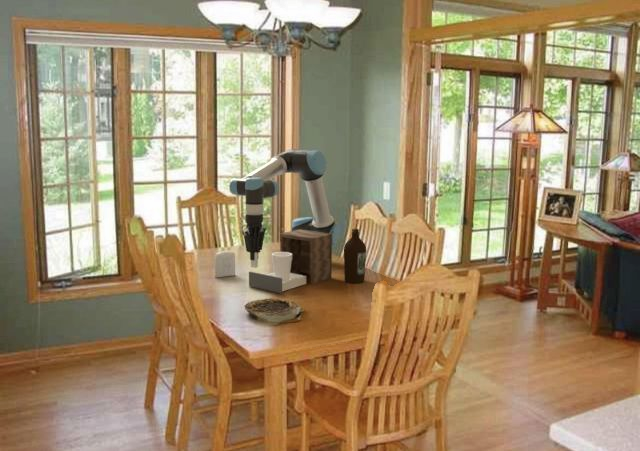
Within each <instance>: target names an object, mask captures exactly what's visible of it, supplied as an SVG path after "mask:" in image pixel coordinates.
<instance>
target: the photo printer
mask: <svg viewBox="0 0 640 451" xmlns="http://www.w3.org/2000/svg"><path fill="white" fill-rule="evenodd" d="M234 276H236V254H235V252H234V251H232V250H222V251H219V252H216V253H215V254H214V277H215V278H223V277H234Z"/></svg>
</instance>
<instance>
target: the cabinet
mask: <svg viewBox="0 0 640 451" xmlns="http://www.w3.org/2000/svg"><path fill="white" fill-rule="evenodd" d="M279 239H280V240H279V243H280V244H279V245H280V247H279V248H280V249H279V250H280V251H279V252H289V253H292V262H291V269H290V273H294V274H300V273H301V274H302V273H303V274H307V275H309V284H311V285H313V284H317V283H319V282H320V283H321V282H323V281H325V280H328V279H331V278H332V266H333V265H332V262H333V261H332V258H333V257H332V255H333V254H332V253H333V252H332V251H333V250H332V249H333V245H332V234H329V233H322V232H316V231H309V230H302V229H299V230H294V231H292V230H290V231H285V232H282V233H280V238H279Z"/></svg>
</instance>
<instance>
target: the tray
mask: <svg viewBox="0 0 640 451" xmlns="http://www.w3.org/2000/svg"><path fill="white" fill-rule="evenodd" d="M306 284H307V275H303V274H300V273H296V274H294V273H290V277H289V281H286V282H282V278H279V277H274V271H273V272H271V273H268V274H265V273H260V272H255V271H248V287H251V288H255V289H261V290H264V291H267V292H272V293H276V294H283V292H284V291H287V290H288V291H289V290H292V289H294V288H297V287H300V286H304V285H306Z"/></svg>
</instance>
